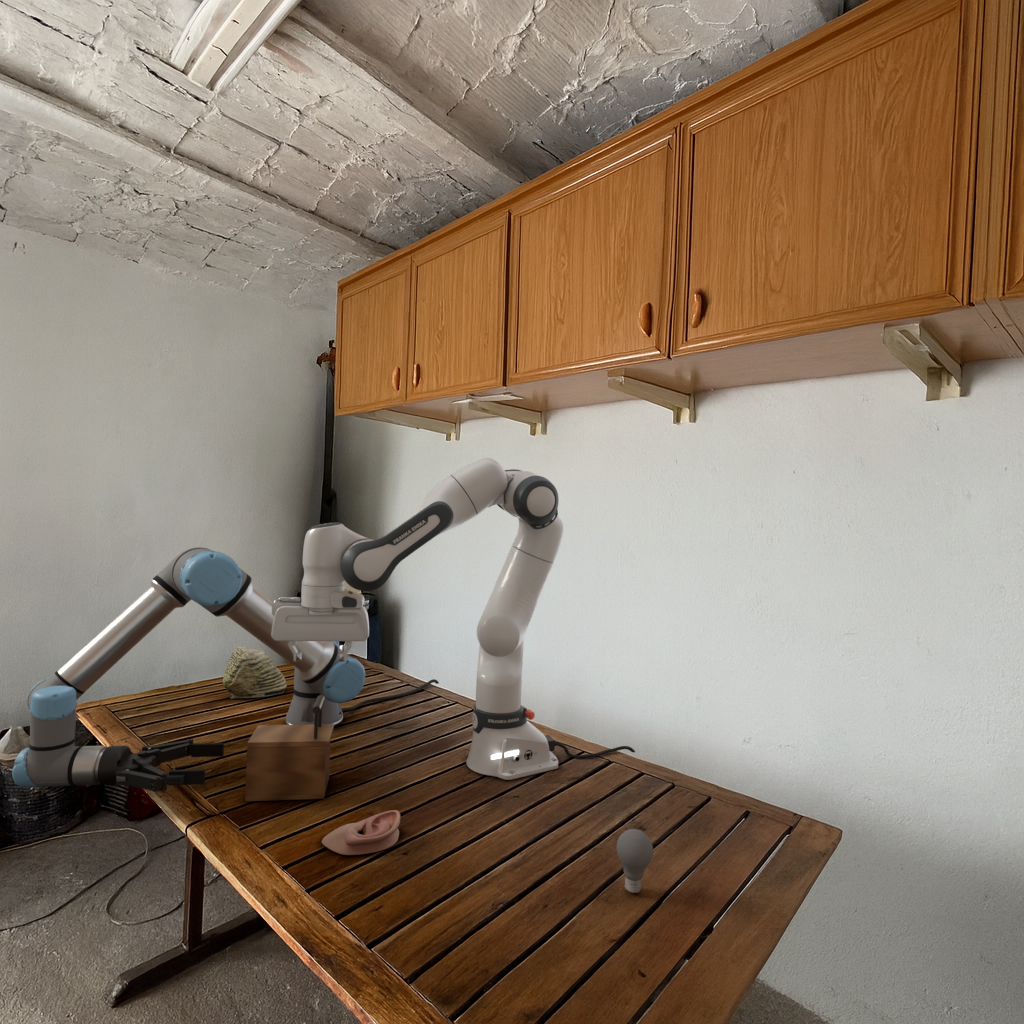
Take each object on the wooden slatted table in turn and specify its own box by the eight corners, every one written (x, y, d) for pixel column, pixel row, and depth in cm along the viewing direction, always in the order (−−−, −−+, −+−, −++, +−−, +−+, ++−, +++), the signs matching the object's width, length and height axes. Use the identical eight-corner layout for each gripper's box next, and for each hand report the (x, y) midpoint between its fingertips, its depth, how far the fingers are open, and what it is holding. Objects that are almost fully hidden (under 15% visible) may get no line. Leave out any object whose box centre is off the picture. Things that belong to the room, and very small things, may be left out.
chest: (329, 777, 143) (331, 729, 143) (323, 798, 133) (325, 746, 133) (256, 779, 140) (257, 730, 140) (245, 801, 130) (247, 748, 130)
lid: (333, 728, 143) (335, 693, 143) (328, 746, 133) (330, 707, 133) (257, 730, 140) (259, 693, 140) (247, 747, 130) (248, 708, 130)
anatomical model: (313, 828, 113) (343, 799, 125) (313, 850, 113) (342, 819, 125) (383, 839, 111) (407, 808, 122) (382, 862, 111) (406, 829, 122)
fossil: (218, 695, 195) (220, 647, 195) (278, 685, 208) (279, 640, 207) (228, 703, 189) (230, 653, 188) (289, 692, 201) (290, 645, 201)
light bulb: (610, 879, 108) (613, 822, 108) (644, 879, 109) (647, 822, 109) (619, 902, 102) (622, 840, 102) (655, 901, 103) (658, 840, 103)
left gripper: (129, 758, 142) (229, 756, 146) (72, 813, 118) (194, 808, 121) (130, 725, 142) (230, 723, 146) (73, 773, 118) (195, 770, 121)
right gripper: (269, 599, 132) (266, 665, 132) (369, 600, 135) (367, 664, 136) (275, 594, 138) (272, 657, 138) (371, 595, 142) (368, 657, 142)
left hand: (214, 762), depth 134 cm, fingers open, 13 cm apart
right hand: (320, 661), depth 137 cm, fingers open, 8 cm apart
